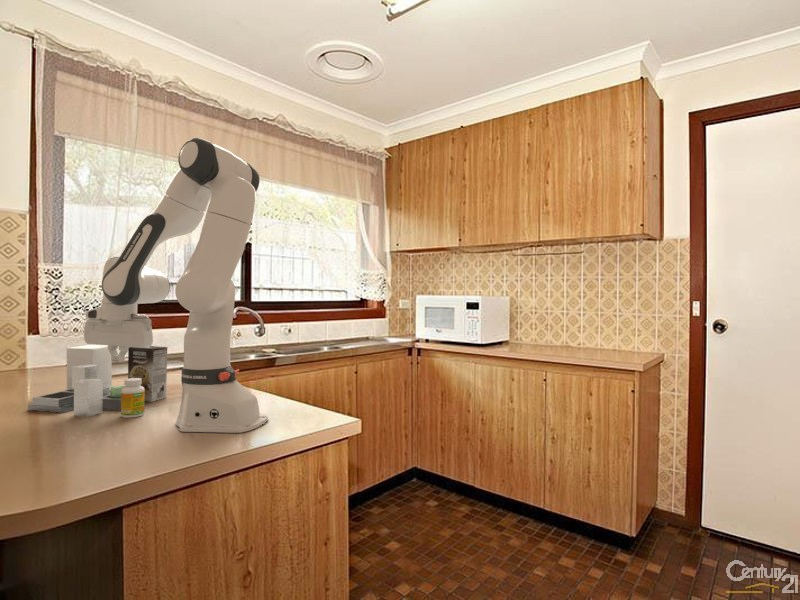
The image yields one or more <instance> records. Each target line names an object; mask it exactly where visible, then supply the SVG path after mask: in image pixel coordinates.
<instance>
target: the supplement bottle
mask: <svg viewBox="0 0 800 600" xmlns="http://www.w3.org/2000/svg"><path fill="white" fill-rule="evenodd" d="M123 380H124V383H123V385H124V386H125V387H124V388H123V389H122V391H121V410H120V415H121V418H125V419H129V418H139V417H141V416H144V414H145V401H144V399H145V389H144V387H142V386H141V384H142V379H141V378H129V379H128V378H125V379H123Z"/></svg>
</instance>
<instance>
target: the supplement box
mask: <svg viewBox="0 0 800 600" xmlns="http://www.w3.org/2000/svg"><path fill="white" fill-rule="evenodd" d="M112 362H113V361H111V354H110V353H109V351H108V345H98V344H87V345H80V346H72V347H66V390H68V389H72V367H74V366H80V365H85V364H86V365H98V379H99V380H103V387H109V392H110V388H111V387H113V383H112V381H113V380H112V379H113V376H112V375H113V372H112V370H113V369H112V367H113V363H112Z"/></svg>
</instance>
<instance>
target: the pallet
mask: <svg viewBox="0 0 800 600" xmlns="http://www.w3.org/2000/svg"><path fill="white" fill-rule="evenodd" d="M85 379H98V365H86V364H85V365H80V366H74V367H72V389H68V390H67V389H65V390H61V391H55V392H51V393H47V394H43V395H38V396H33V397H32V403H28V404H27V410H28V409H29V410H28V411H32V410H38V411H37V412H44V411H50V412H49V413H56V412H58V413H59V414H64V413H67V412H70V410H71V411H74V382H76V381H81V380H85ZM108 394H110V391H109V387H103V396H105V395H108Z"/></svg>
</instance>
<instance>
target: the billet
mask: <svg viewBox="0 0 800 600" xmlns="http://www.w3.org/2000/svg"><path fill="white" fill-rule="evenodd" d="M103 410H104V409H103V380H99V379H85V380H81V381H76V382H74V410H73V416H75V417H81V418H82V417H83V418H85V417H86V418H90V417H93V416H95V415H99V414H102V413H103V412H104V411H103Z"/></svg>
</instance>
